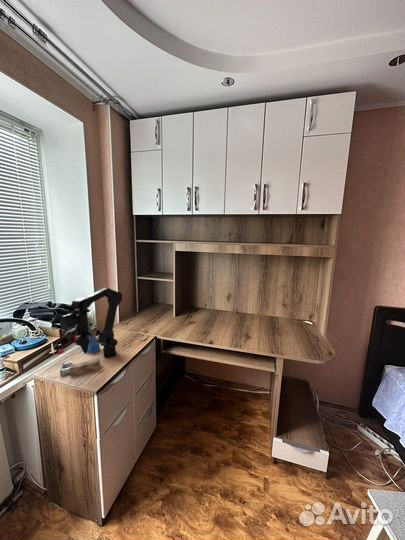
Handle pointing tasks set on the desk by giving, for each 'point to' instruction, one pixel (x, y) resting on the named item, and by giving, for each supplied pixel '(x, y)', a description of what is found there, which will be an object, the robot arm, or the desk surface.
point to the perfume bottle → (93, 344)
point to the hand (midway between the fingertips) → (86, 349)
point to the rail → (85, 367)
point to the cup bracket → (67, 370)
